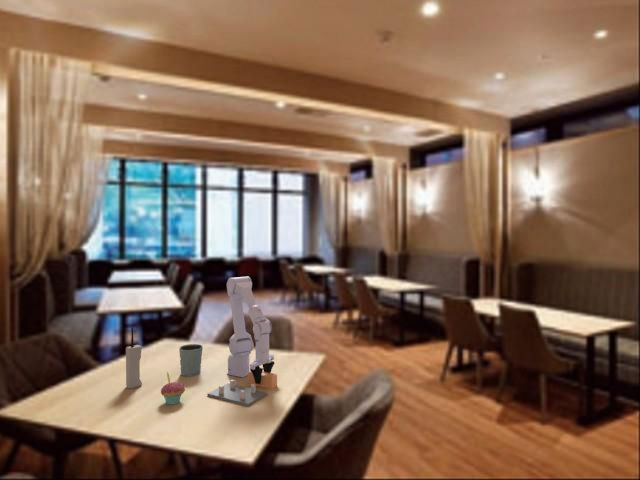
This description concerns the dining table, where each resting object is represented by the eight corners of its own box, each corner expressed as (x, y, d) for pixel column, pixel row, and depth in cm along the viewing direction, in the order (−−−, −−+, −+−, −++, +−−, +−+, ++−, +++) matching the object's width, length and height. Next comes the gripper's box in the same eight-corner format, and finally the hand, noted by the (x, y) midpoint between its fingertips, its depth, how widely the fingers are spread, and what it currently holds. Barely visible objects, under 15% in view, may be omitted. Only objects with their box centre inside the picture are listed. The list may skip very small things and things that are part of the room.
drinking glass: (174, 375, 182) (174, 348, 181) (189, 367, 191) (189, 342, 191) (192, 378, 178) (192, 351, 177) (207, 370, 187) (207, 345, 187)
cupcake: (162, 408, 148) (162, 375, 147) (159, 399, 155) (159, 368, 155) (186, 403, 152) (186, 372, 151) (182, 395, 159) (182, 365, 159)
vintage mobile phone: (142, 385, 169) (141, 326, 168) (130, 389, 165) (129, 328, 164) (138, 383, 171) (137, 325, 171) (126, 386, 167) (125, 327, 167)
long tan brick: (248, 384, 171) (248, 367, 171) (253, 381, 175) (253, 364, 175) (271, 389, 166) (271, 371, 166) (276, 386, 170) (276, 368, 169)
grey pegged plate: (207, 396, 158) (207, 386, 158) (227, 385, 169) (227, 376, 169) (248, 406, 149) (248, 395, 149) (266, 394, 160) (266, 384, 160)
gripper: (259, 355, 162) (259, 388, 162) (279, 346, 175) (279, 377, 175) (245, 352, 165) (245, 385, 166) (266, 344, 178) (266, 374, 178)
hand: (262, 381), depth 171 cm, fingers open, 6 cm apart
